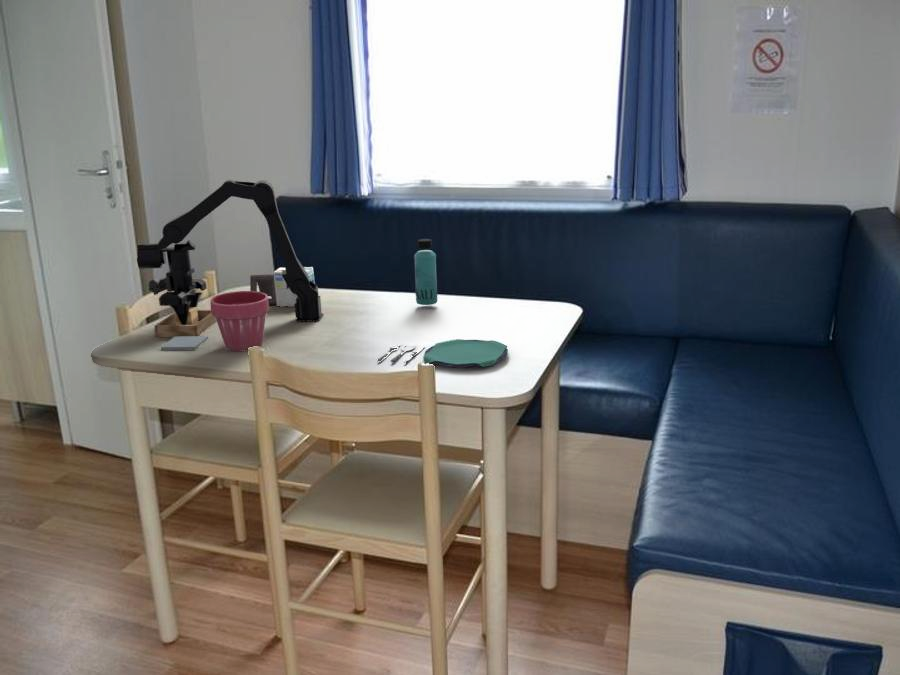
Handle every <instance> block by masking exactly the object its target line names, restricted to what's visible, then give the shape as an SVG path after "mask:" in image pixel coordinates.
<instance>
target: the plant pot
mask: <svg viewBox="0 0 900 675" xmlns="http://www.w3.org/2000/svg"><path fill="white" fill-rule="evenodd" d="M268 298H269V296H267V295H266V294H265V293H262V292H259V291H258V290H257V291H250V290H241V291H240V290H239V291H231V292H230V291H229V292H224V293H220V294H217V295H214V296H212V297H211V298H210V304H209V305H210V310H211V314H212V315H213V316H214V317H216V320H217V322H216V324H217V326H218V329H219V331H220V335H221V338H222V340H223V344H224V347H225V348H227V351H231V350H234V351H233V352H248V351H249V350H248V348H249V347H253V346H260V347H262V345H263V339H264V333H265V332H264V331H265V323H266V314H267V313H268V312H269V310H270V305H269V302H268ZM242 350H243V351H242ZM244 350H245V351H244ZM247 350H248V351H247Z"/></svg>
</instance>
